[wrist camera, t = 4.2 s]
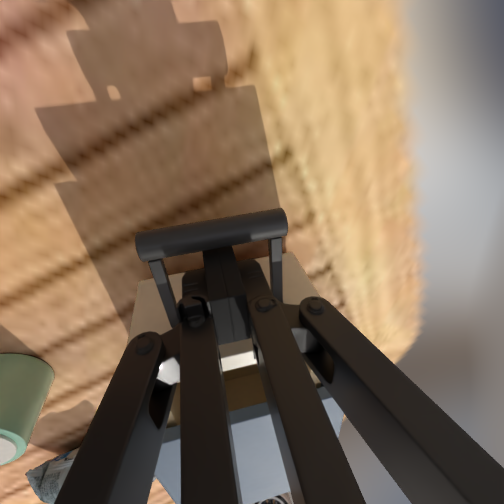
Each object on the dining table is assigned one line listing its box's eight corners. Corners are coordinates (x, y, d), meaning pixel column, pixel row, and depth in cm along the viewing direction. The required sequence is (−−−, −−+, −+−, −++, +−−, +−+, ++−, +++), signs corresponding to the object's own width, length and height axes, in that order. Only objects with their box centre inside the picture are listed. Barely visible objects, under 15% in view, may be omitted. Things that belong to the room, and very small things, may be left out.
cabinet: (150, 321, 23) (136, 450, 15) (295, 290, 25) (349, 392, 17) (186, 409, 31) (189, 523, 23) (293, 381, 33) (329, 479, 25)
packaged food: (107, 417, 29) (95, 474, 25) (167, 453, 36) (165, 502, 32) (33, 448, 29) (8, 509, 25) (106, 478, 36) (96, 530, 32)
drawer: (106, 200, 16) (59, 285, 10) (293, 172, 18) (357, 229, 11) (180, 386, 27) (181, 483, 21) (291, 358, 29) (323, 440, 22)
